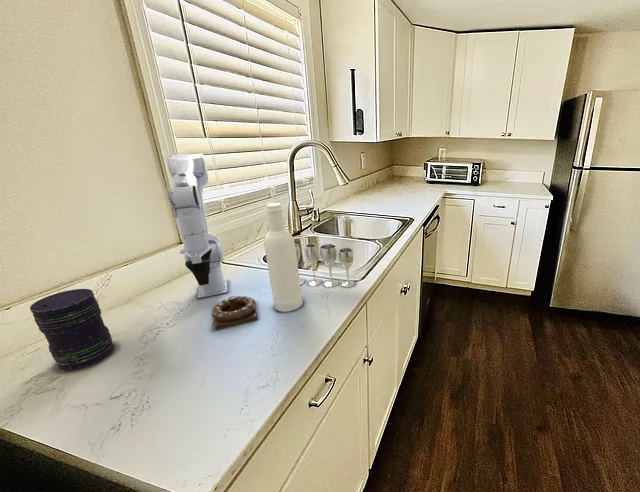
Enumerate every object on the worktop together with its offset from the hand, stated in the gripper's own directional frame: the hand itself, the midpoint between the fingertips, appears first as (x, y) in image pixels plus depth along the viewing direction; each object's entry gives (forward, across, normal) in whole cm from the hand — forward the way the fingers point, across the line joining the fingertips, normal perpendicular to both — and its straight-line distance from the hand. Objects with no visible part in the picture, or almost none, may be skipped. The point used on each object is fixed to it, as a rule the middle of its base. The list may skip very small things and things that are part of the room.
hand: (205, 279), depth 90 cm
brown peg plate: (+10, +7, +6) cm, 13 cm away
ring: (+7, +7, +6) cm, 12 cm away
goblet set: (+10, -3, +30) cm, 32 cm away
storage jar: (+10, +10, -25) cm, 29 cm away
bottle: (+10, +8, +20) cm, 24 cm away
